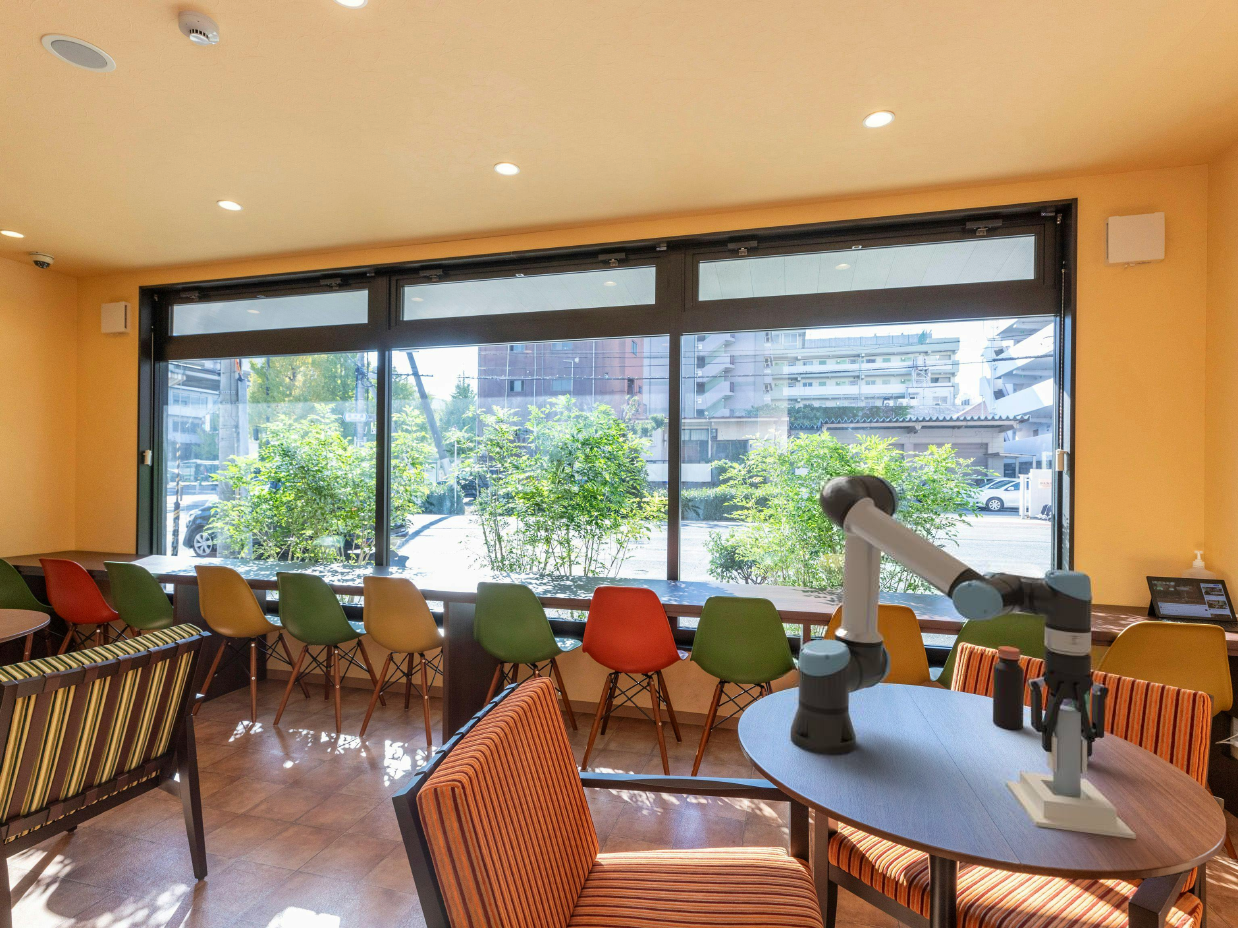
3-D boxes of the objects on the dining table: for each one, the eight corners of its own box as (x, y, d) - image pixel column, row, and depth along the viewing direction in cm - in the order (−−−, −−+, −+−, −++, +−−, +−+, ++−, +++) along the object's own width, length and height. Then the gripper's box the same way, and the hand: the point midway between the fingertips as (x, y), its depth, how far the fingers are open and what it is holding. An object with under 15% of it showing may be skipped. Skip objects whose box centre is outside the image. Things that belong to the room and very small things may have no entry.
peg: (1058, 795, 124) (1059, 712, 124) (1049, 784, 128) (1049, 704, 128) (1084, 798, 123) (1085, 714, 123) (1074, 787, 127) (1074, 706, 127)
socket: (1035, 825, 119) (1036, 804, 119) (1005, 784, 135) (1005, 765, 135) (1135, 838, 116) (1135, 816, 116) (1092, 795, 131) (1092, 775, 131)
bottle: (1023, 723, 168) (1024, 647, 168) (1023, 732, 162) (1024, 653, 163) (993, 718, 172) (994, 643, 172) (992, 726, 166) (993, 649, 166)
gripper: (1025, 651, 124) (1024, 772, 124) (1129, 659, 120) (1128, 784, 120) (1011, 641, 131) (1010, 756, 131) (1108, 648, 127) (1108, 766, 127)
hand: (1066, 769), depth 125 cm, fingers closed on peg, 4 cm apart
